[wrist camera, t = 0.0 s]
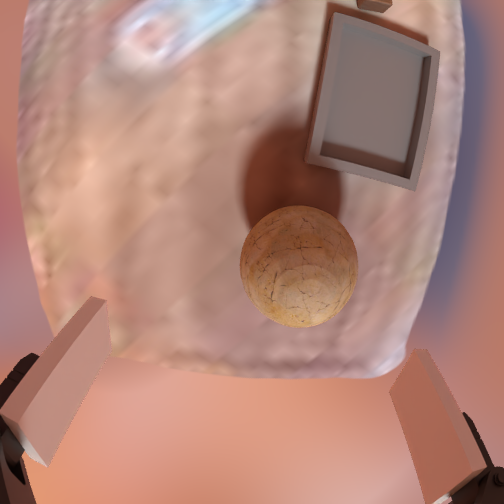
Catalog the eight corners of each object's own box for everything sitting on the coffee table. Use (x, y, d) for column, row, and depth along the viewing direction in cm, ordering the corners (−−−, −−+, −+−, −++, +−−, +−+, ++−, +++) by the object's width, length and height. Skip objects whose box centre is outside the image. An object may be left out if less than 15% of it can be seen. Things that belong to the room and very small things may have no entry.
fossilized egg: (334, 287, 42) (360, 359, 28) (242, 283, 42) (231, 356, 28) (348, 198, 37) (392, 239, 23) (246, 190, 37) (234, 228, 24)
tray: (329, 19, 28) (334, 11, 26) (429, 55, 29) (440, 51, 26) (303, 160, 36) (306, 163, 33) (405, 186, 36) (415, 191, 33)
